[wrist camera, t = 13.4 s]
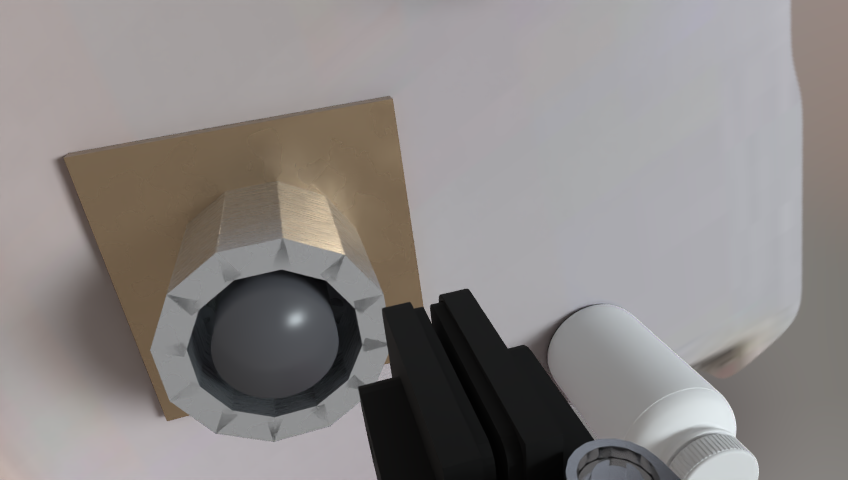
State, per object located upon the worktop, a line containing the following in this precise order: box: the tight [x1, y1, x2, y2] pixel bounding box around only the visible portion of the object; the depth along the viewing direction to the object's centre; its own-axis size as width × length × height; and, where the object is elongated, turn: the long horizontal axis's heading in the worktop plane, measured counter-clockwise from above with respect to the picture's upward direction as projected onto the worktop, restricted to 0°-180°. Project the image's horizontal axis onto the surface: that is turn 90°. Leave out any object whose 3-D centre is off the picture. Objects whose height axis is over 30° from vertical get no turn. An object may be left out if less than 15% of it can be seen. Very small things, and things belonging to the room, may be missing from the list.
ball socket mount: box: [64, 96, 424, 442], centre depth 33 cm, size 18×18×10 cm
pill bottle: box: [548, 304, 759, 480], centre depth 40 cm, size 8×8×15 cm
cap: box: [211, 269, 339, 398], centre depth 31 cm, size 6×6×5 cm
